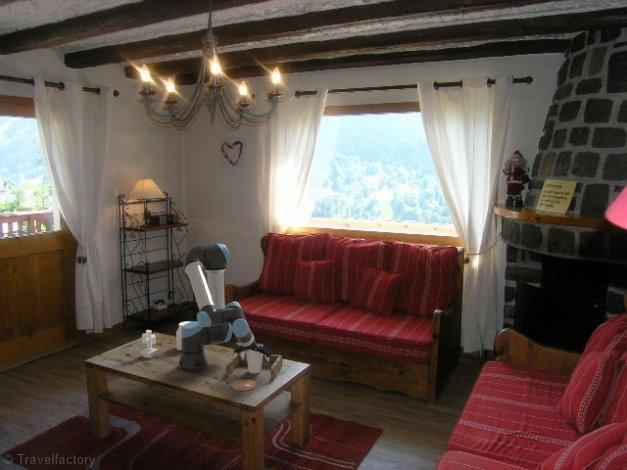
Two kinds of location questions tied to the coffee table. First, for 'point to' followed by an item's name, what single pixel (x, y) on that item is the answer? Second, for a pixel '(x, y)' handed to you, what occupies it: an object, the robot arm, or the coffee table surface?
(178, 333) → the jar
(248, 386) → the terracotta pad
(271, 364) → the wooden tray
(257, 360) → the foam cup
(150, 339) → the figurine
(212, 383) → the coffee table surface
